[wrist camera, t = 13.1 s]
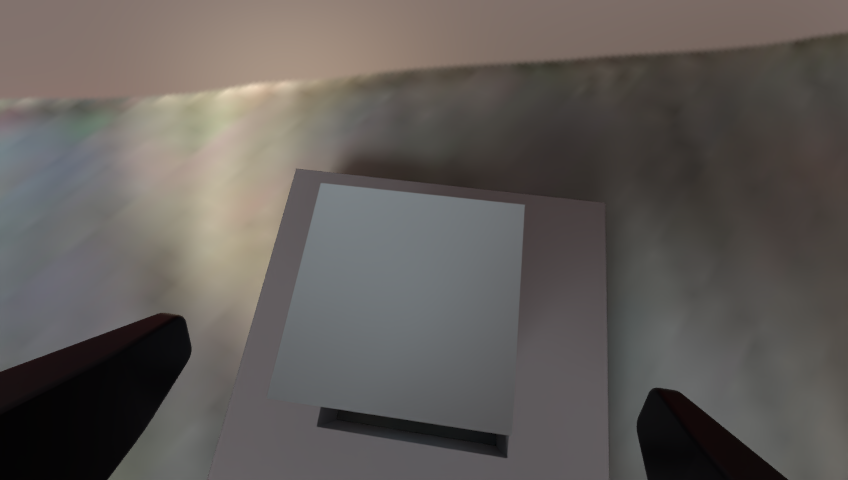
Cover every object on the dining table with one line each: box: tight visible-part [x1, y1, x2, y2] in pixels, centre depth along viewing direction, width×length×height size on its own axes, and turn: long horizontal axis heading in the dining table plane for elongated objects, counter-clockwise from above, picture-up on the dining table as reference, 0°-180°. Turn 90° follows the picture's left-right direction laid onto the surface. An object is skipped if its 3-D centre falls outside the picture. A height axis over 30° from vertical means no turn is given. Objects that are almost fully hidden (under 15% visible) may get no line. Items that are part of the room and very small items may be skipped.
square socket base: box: [207, 169, 609, 480], centre depth 17 cm, size 14×14×3 cm
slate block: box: [267, 183, 525, 436], centre depth 13 cm, size 4×4×12 cm
